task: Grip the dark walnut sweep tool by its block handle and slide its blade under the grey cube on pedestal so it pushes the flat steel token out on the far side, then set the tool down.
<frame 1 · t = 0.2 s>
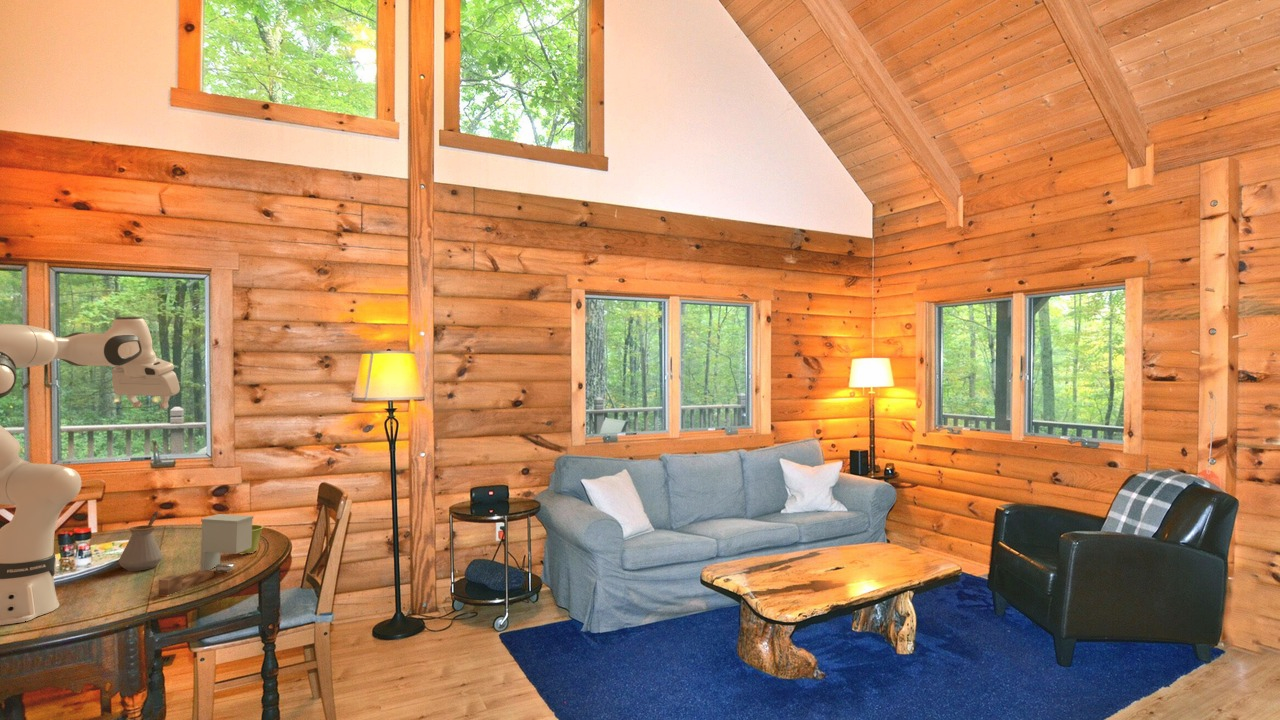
hand: (151, 407, 212), 52 cm above the table, tool tilted 20°, fingers open, 8 cm apart
grey cube on pedestal: (225, 569, 214), on the table
sweep tool: (170, 592, 192), on the table
plant pot: (246, 553, 234), on the table
coffee pot: (145, 563, 219), on the table
steel token: (224, 571, 213), on the table
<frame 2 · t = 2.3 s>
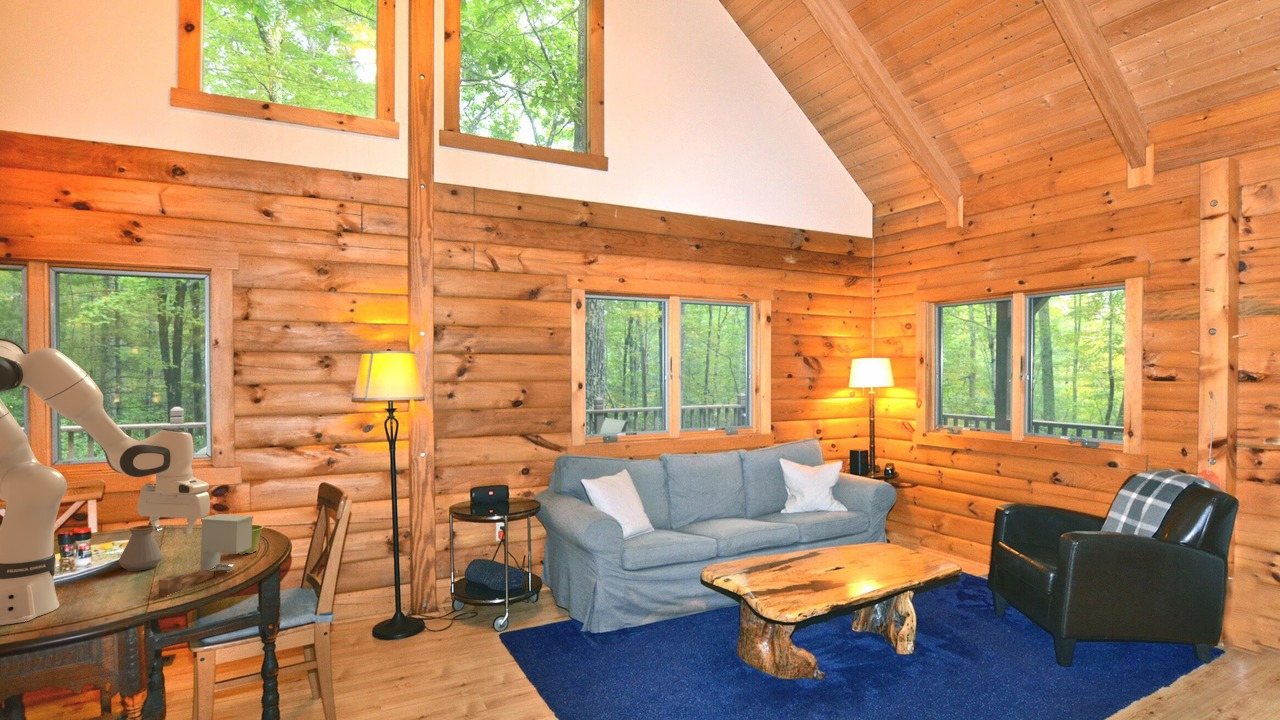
hand: (172, 532, 192), 17 cm above the table, tool pointing down, fingers open, 8 cm apart
nothing on the table moved.
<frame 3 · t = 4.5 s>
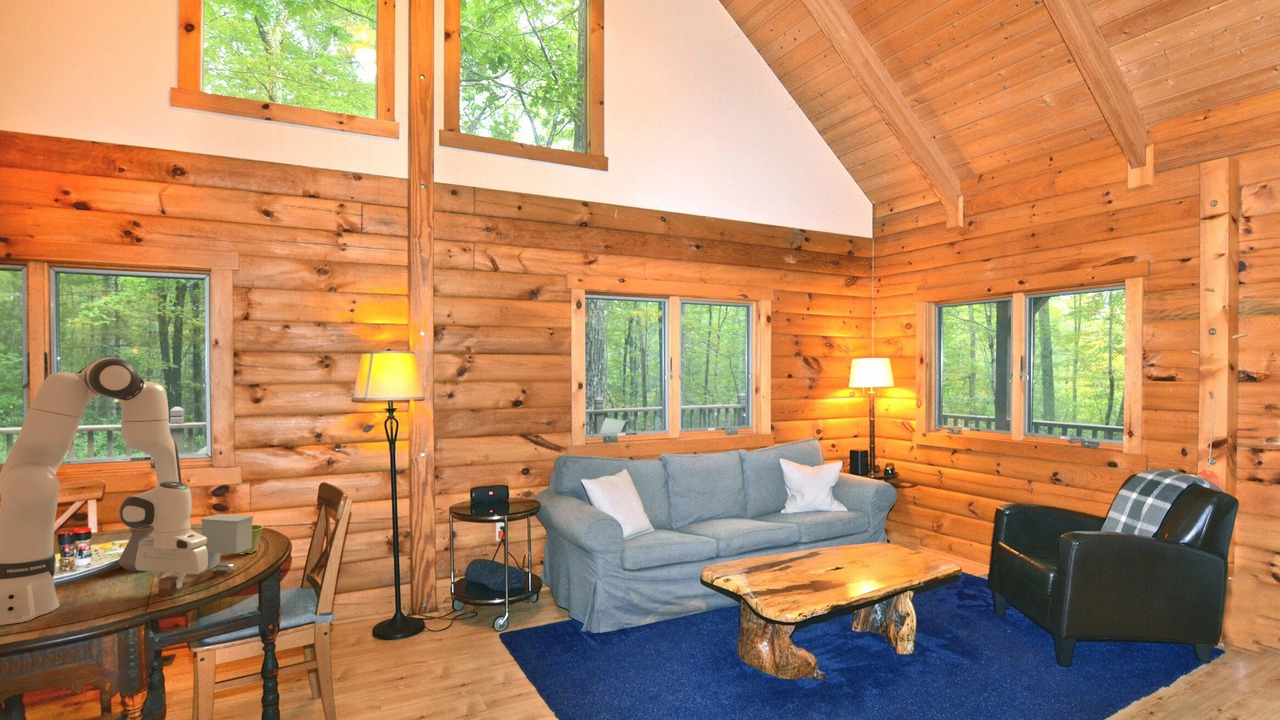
hand: (170, 587, 192), 2 cm above the table, tool pointing down, fingers closed on sweep tool, 3 cm apart
sweep tool: (170, 592, 192), on the table, touching gripper
everything else where it was.
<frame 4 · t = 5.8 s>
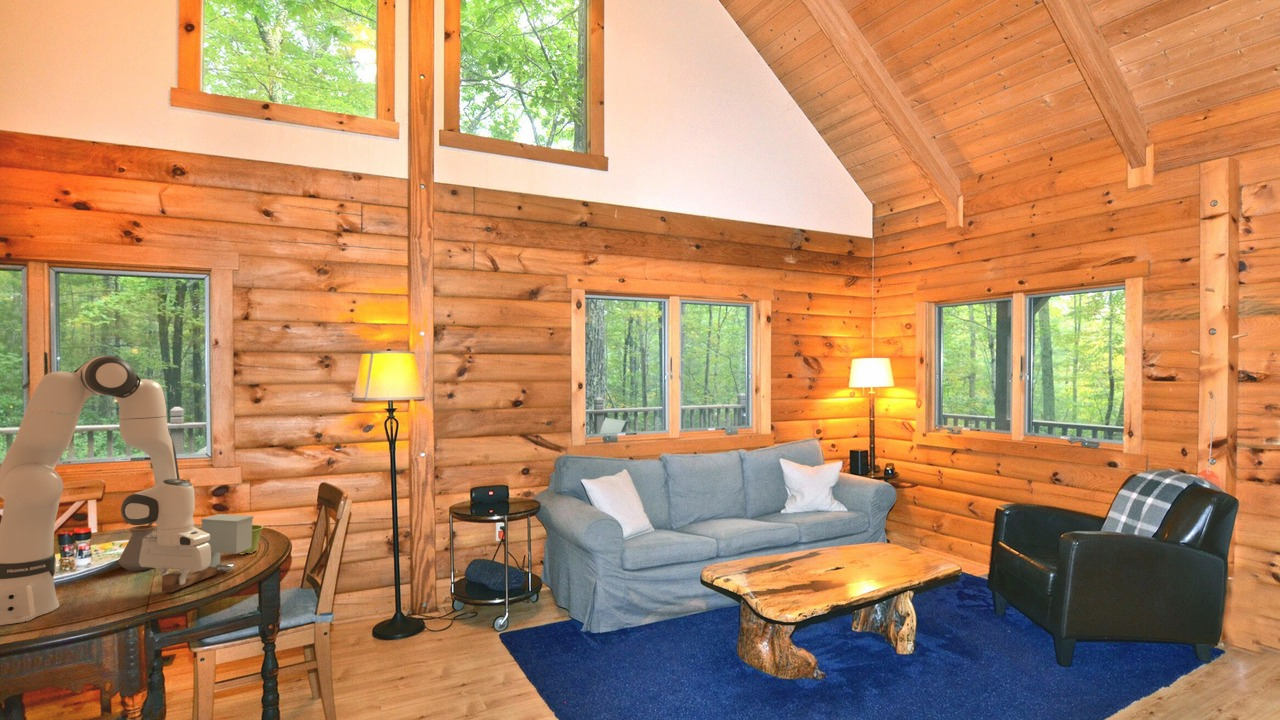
hand: (173, 583, 193), 2 cm above the table, tool pointing down, fingers closed on sweep tool, 3 cm apart
sweep tool: (173, 589, 193), point 1 cm above the table, touching gripper
everything else where it was.
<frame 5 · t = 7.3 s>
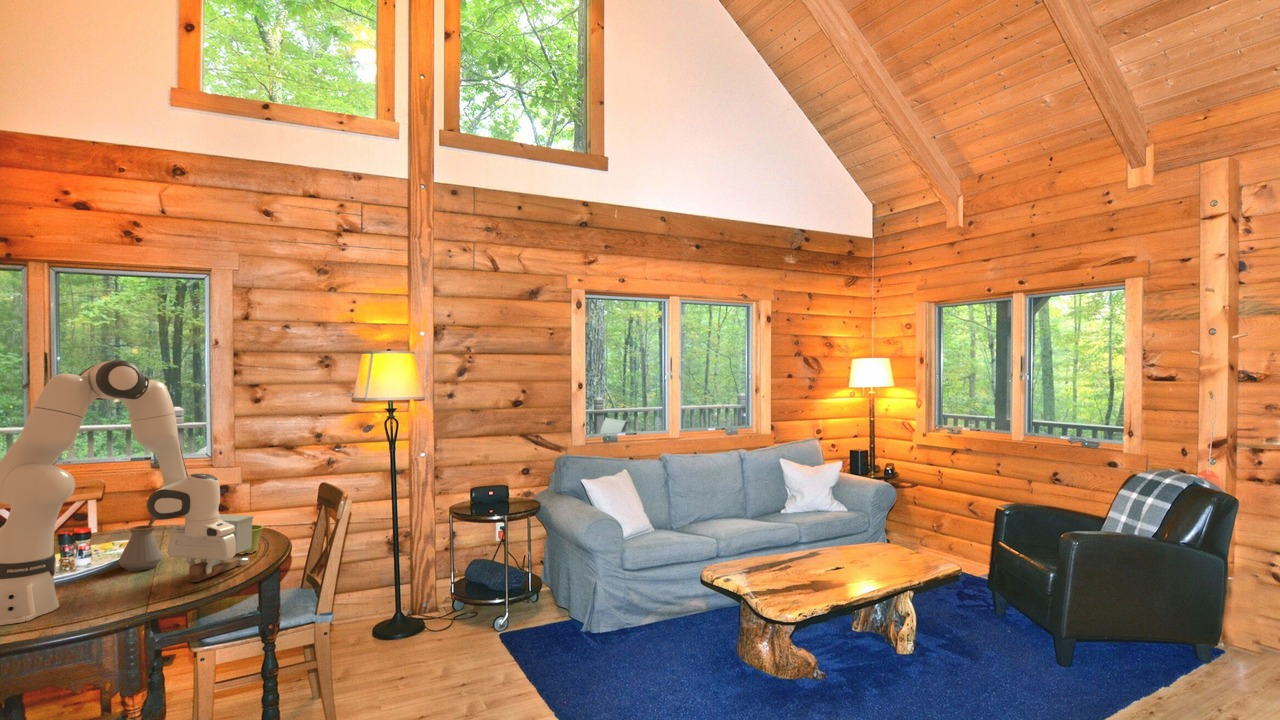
hand: (200, 572, 203), 2 cm above the table, tool pointing down, fingers closed on sweep tool, 3 cm apart
sweep tool: (199, 579, 203), point 1 cm above the table, touching gripper
steel token: (240, 564, 220), on the table
everything else where it was.
when the fingers open (2 cm above the table, at t = 9.6 s): sweep tool stays where it is, on the table.
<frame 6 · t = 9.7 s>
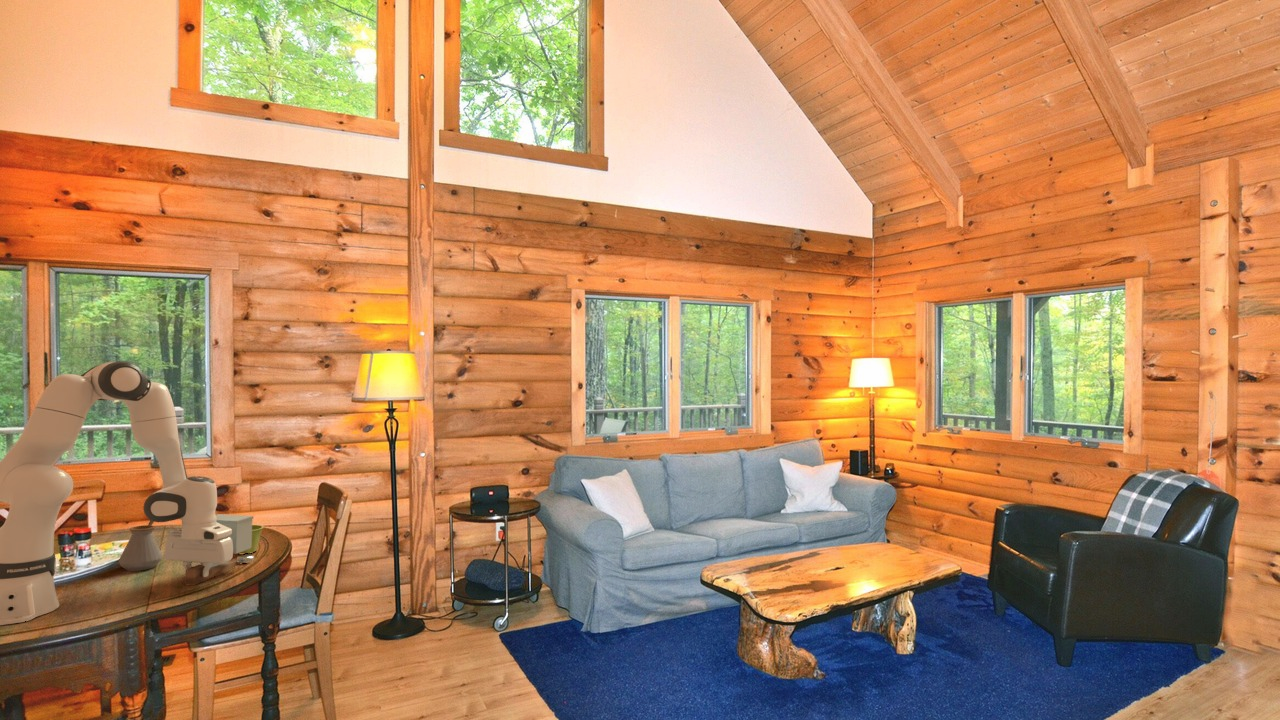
hand: (197, 576, 202), 2 cm above the table, tool pointing down, fingers open, 3 cm apart
sweep tool: (196, 582, 201), on the table
steel token: (245, 562, 223), on the table
everything else where it was.
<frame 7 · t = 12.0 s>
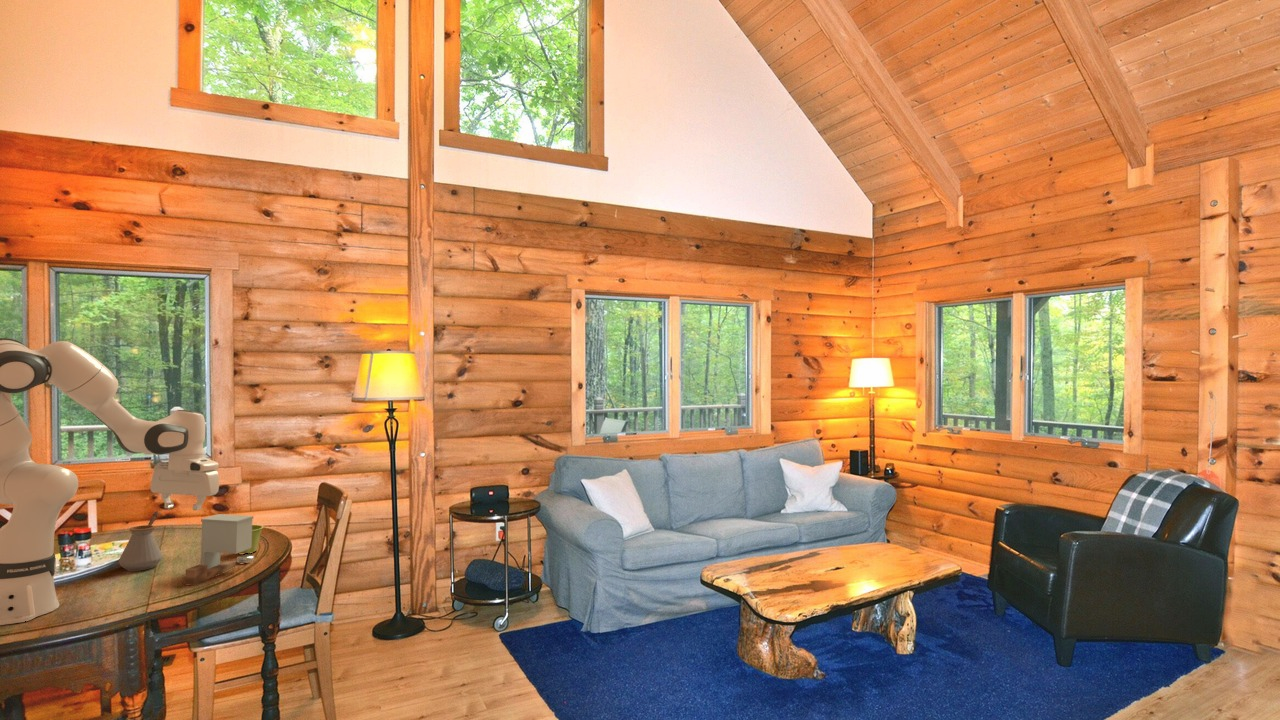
hand: (182, 509, 202), 22 cm above the table, tool pointing down, fingers open, 8 cm apart
nothing on the table moved.
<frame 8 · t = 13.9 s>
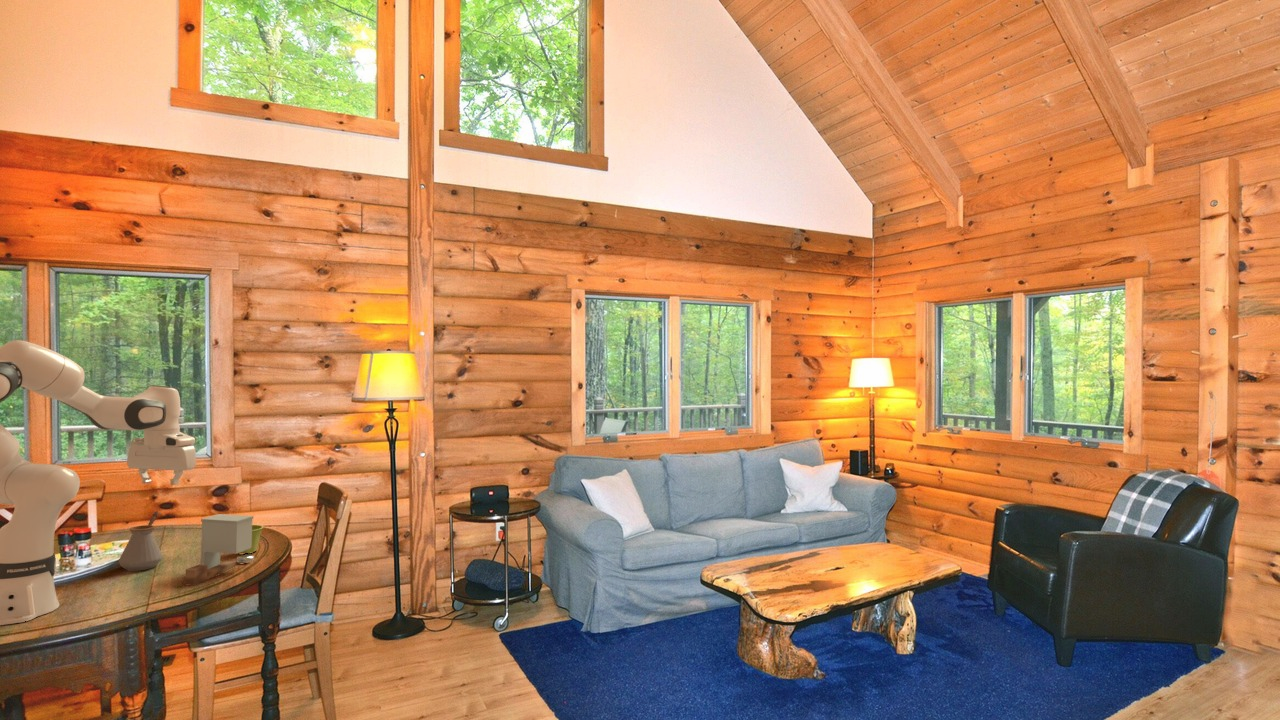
hand: (160, 483, 203), 29 cm above the table, tool pointing down, fingers open, 8 cm apart
nothing on the table moved.
at the end: steel token inside the target area (4.5 cm from its centre), on the table; steel token moved 9.5 cm from its start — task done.
